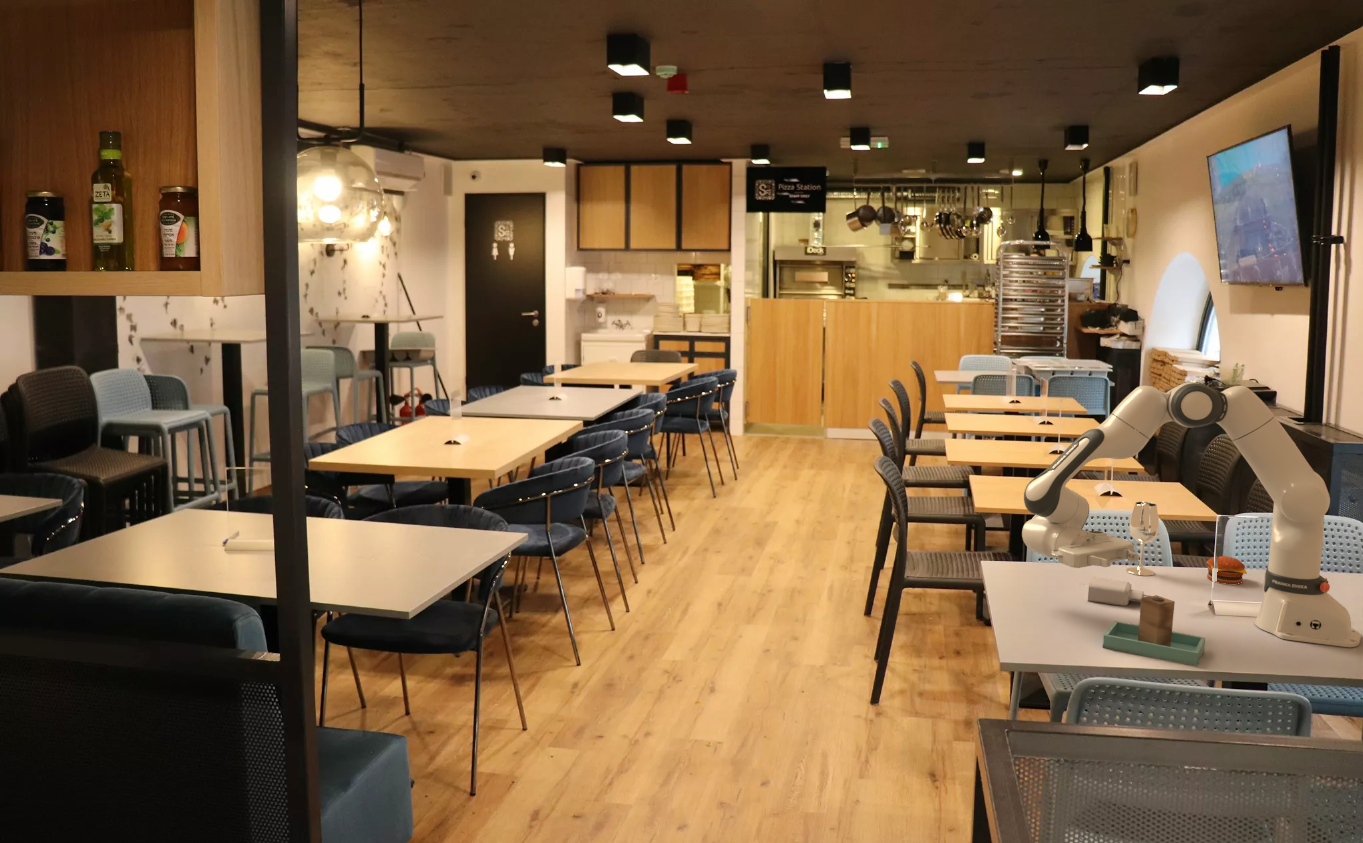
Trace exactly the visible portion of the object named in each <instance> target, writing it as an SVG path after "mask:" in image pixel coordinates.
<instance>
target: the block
mask: <svg viewBox="0 0 1363 843" xmlns="http://www.w3.org/2000/svg"><path fill="white" fill-rule="evenodd" d="M1175 604H1176V602H1175V601H1174V600H1171V599H1168V598H1165V597H1162V596H1159V595H1157V594H1156V595H1155V594H1154V595H1150V597H1146V596H1144V598H1141V602H1140V611H1139V622H1138V625H1139V632H1138V641H1143V642H1148V643H1153V644H1158V645H1164V646H1169V647H1171V636H1172V632H1173V624H1174V615H1175V612H1174V611H1175Z"/></svg>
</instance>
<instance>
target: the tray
mask: <svg viewBox="0 0 1363 843" xmlns="http://www.w3.org/2000/svg"><path fill="white" fill-rule="evenodd" d="M1138 632H1139V624H1133V623H1129V622H1123V621H1118V620H1117V621H1116V620H1114V621H1113V622H1112V624H1111V625H1110V626H1109V627H1108V629H1107V630H1106V632H1105V633H1104V634H1103V641H1102V648H1103V649H1108V650H1113V651H1117V652H1118V651H1119V652H1123V653H1128V654H1133V655H1139V656H1142V657H1144V656H1145V657H1148V658H1153V659H1154V658H1155V659H1158V660H1164V661H1169V662H1175V663H1180V664H1185V665H1189V666H1194V667H1197V666H1198V665H1199V662H1200V660H1201V659H1202V657H1203V654H1204V652H1205V649H1206V648H1205V647H1206V646H1205V645H1206V637H1203V636H1199V635H1192V634H1188V633H1184V632H1183V633H1181V632H1178V631H1172V636H1171V647H1169V646H1164V645H1158V644H1153V643H1148V642H1143V641H1138Z"/></svg>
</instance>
